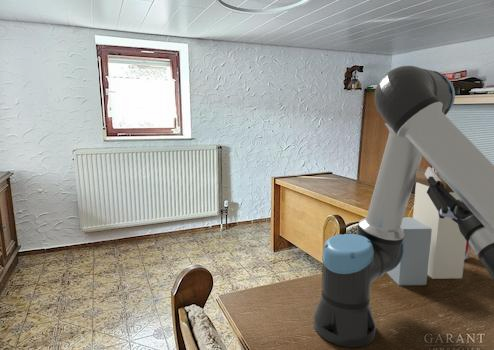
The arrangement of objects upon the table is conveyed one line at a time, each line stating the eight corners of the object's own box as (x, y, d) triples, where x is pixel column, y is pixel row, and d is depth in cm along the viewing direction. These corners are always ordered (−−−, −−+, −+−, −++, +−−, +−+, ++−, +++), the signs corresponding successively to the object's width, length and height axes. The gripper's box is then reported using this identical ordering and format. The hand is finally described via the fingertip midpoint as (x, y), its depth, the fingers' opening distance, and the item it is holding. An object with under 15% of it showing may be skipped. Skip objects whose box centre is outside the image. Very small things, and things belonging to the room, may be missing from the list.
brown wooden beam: (436, 192, 82) (437, 179, 81) (395, 177, 104) (396, 166, 103) (470, 192, 82) (471, 179, 81) (422, 177, 104) (423, 166, 103)
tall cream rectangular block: (432, 278, 106) (441, 191, 101) (409, 259, 121) (415, 182, 116) (462, 278, 106) (472, 191, 101) (435, 259, 121) (442, 182, 116)
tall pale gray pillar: (398, 285, 102) (403, 229, 98) (382, 268, 113) (385, 217, 110) (426, 284, 102) (431, 228, 99) (407, 267, 114) (411, 217, 110)
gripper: (441, 246, 74) (401, 180, 92) (513, 245, 74) (459, 180, 92) (454, 224, 69) (410, 160, 87) (531, 224, 69) (471, 159, 87)
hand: (435, 170), depth 89 cm, fingers closed on brown wooden beam, 4 cm apart
